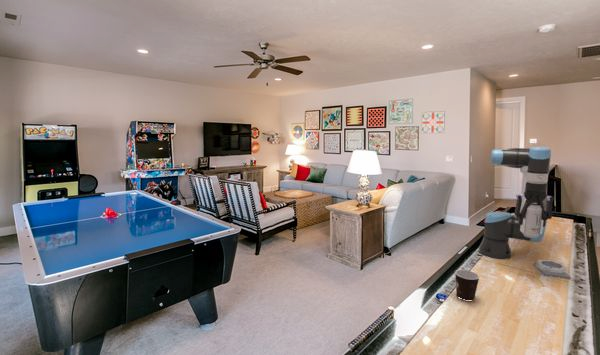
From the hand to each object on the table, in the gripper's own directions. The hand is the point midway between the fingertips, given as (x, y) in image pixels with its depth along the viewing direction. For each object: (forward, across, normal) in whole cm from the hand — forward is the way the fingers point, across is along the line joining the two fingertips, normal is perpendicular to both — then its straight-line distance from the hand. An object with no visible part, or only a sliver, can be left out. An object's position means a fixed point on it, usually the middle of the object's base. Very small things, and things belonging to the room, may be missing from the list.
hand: (530, 232), depth 139 cm
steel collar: (+22, +14, +12) cm, 28 cm away
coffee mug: (+22, -30, -29) cm, 47 cm away
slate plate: (+22, +14, +12) cm, 28 cm away
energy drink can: (+2, 0, 0) cm, 2 cm away
